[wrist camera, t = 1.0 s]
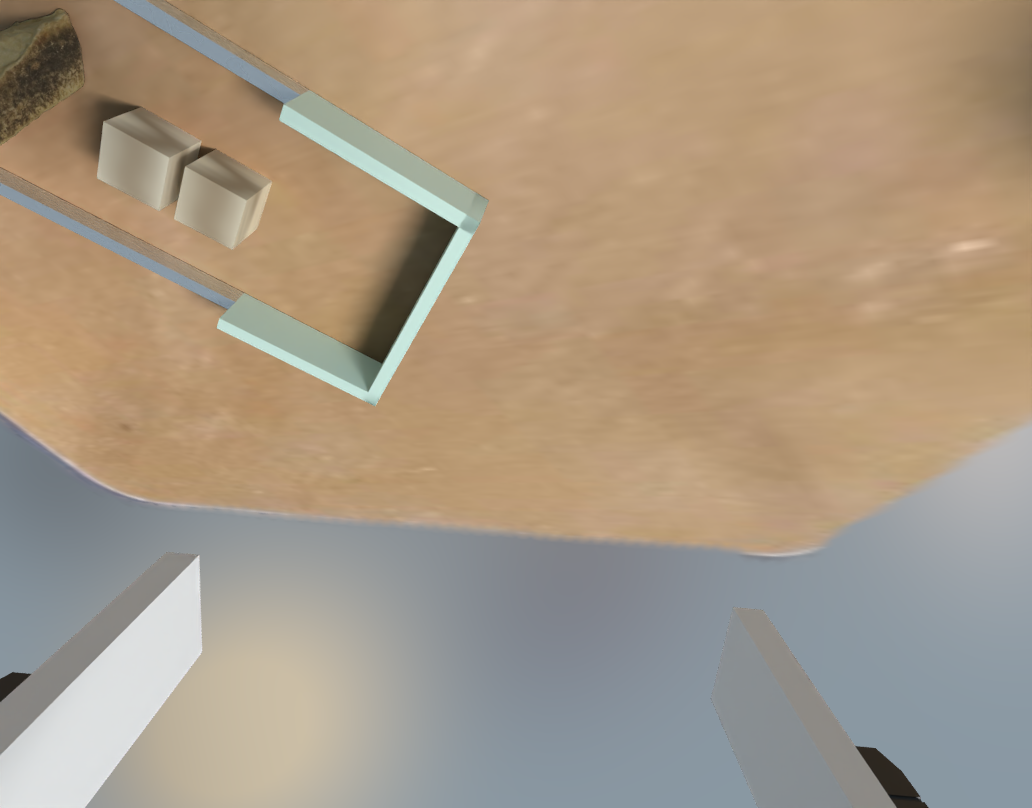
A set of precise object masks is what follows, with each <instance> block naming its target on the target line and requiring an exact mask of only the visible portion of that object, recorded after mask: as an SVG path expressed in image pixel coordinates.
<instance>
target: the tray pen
mask: <svg viewBox="0 0 1032 808" xmlns="http://www.w3.org/2000/svg"><path fill="white" fill-rule="evenodd" d="M279 120H280V121H281V122H283V123H285V124H286V125H288V126H290V127H291V128H293V129H295V130H296V131H298V132H300V133H301V134H303V135H305V136H307V137H308V138H310V139H312V140H313V141H315V142H317V143H318V144H320V145H322V146H323V147H325V148H327V149H328V150H330V151H332V152H333V153H335V154H337V155H338V156H340V157H342V158H343V159H345V160H347V161H348V162H350V163H352V164H354V165H355V166H357V167H359V168H360V169H362V170H364V171H365V172H367V173H369V174H370V175H372V176H374V177H375V178H377V179H379V180H380V181H382V182H384V183H385V184H387V185H389V186H390V187H392V188H394V189H395V190H397V191H399V192H400V193H402V194H404V195H406V196H407V197H409V198H411V199H412V200H414V201H416V202H417V203H419V204H421V205H422V206H424V207H426V208H427V209H429V210H431V211H432V212H434V213H436V214H437V215H439V216H441V217H442V218H444V219H446V220H447V221H449V222H451V223H452V224H454V225H456V226H458V227H457V228H456V230H455V232H454V234H453V236H452V238H451V239H450V241H449V243H448V245H447V247H446V248H445V250H444V252H443V254H442V256H441V258H440V259H439V261H438V263H437V265H436V267H435V268H434V270H433V272H432V274H431V276H430V278H429V279H428V281H427V283H426V285H425V287H424V289H423V290H422V292H421V294H420V296H419V298H418V299H417V301H416V303H415V305H414V307H413V309H412V310H411V312H410V314H409V316H408V318H407V320H406V321H405V323H404V325H403V327H402V329H401V330H400V332H399V334H398V336H397V338H396V340H395V341H394V343H393V345H392V347H391V349H390V350H389V352H388V354H387V356H386V358H385V360H384V361H383V363H380V362H378V361H376V360H374V359H372V358H370V357H368V356H366V355H364V354H362V353H360V352H358V351H356V350H354V349H352V348H350V347H348V346H347V345H345V344H343V343H341V342H339V341H337V340H335V339H333V338H331V337H329V336H327V335H325V334H323V333H321V332H319V331H317V330H315V329H313V328H311V327H310V326H308V325H306V324H304V323H302V322H300V321H298V320H296V319H294V318H292V317H290V316H288V315H286V314H284V313H282V312H280V311H278V310H276V309H275V308H273V307H271V306H269V305H267V304H265V303H263V302H261V301H259V300H257V299H255V298H253V297H251V296H249V295H247V294H245V293H244V294H243V295H242V296H241V297H240V298H239V299H238V300H237V301H236V302H235V303H234V304H233V305H232V306H231V307H230V308H229V309H228V310H227V311H226V312H225V313H224V314H223V315H222V316H221V317H220V319H219V322H218V325H217V328H218V329H220V330H222V331H224V332H226V333H228V334H230V335H232V336H234V337H236V338H238V339H240V340H242V341H244V342H246V343H248V344H250V345H252V346H254V347H256V348H258V349H260V350H262V351H264V352H266V353H268V354H270V355H272V356H274V357H276V358H278V359H281V360H283V361H285V362H287V363H289V364H291V365H293V366H295V367H297V368H299V369H301V370H303V371H305V372H307V373H309V374H311V375H313V376H315V377H317V378H319V379H321V380H323V381H325V382H327V383H329V384H331V385H333V386H335V387H337V388H339V389H341V390H343V391H345V392H347V393H349V394H351V395H354V396H356V397H358V398H360V399H362V400H364V401H366V402H368V403H370V404H372V405H374V406H375V405H376V404H377V402H378V400H379V398H380V397H381V395H382V393H383V391H384V390H385V388H386V386H387V384H388V383H389V381H390V379H391V377H392V376H393V374H394V372H395V370H396V369H397V367H398V365H399V364H400V362H401V360H402V358H403V357H404V355H405V353H406V351H407V350H408V348H409V346H410V344H411V343H412V341H413V339H414V337H415V336H416V334H417V332H418V330H419V329H420V327H421V325H422V323H423V322H424V320H425V318H426V316H427V315H428V313H429V311H430V309H431V308H432V306H433V304H434V302H435V301H436V299H437V297H438V295H439V294H440V292H441V290H442V288H443V287H444V285H445V283H446V281H447V280H448V278H449V276H450V275H451V273H452V271H453V269H454V268H455V266H456V264H457V262H458V261H459V259H460V257H461V255H462V254H463V252H464V250H465V248H466V247H467V245H468V243H469V241H470V240H471V238H472V236H473V234H474V233H475V231H476V229H477V227H478V226H479V224H480V222H481V219H482V217H483V214H484V212H485V209H486V207H487V204H488V202H489V200H487V199H485V198H484V197H482V196H480V195H479V194H477V193H476V192H474V191H472V190H471V189H469V188H467V187H466V186H464V185H463V184H461V183H459V182H458V181H456V180H455V179H453V178H451V177H450V176H448V175H446V174H445V173H443V172H442V171H440V170H438V169H437V168H435V167H433V166H432V165H430V164H429V163H427V162H425V161H424V160H422V159H420V158H419V157H417V156H416V155H414V154H412V153H411V152H409V151H408V150H406V149H404V148H403V147H401V146H399V145H398V144H396V143H395V142H393V141H391V140H390V139H388V138H386V137H385V136H383V135H382V134H380V133H378V132H377V131H375V130H373V129H372V128H370V127H369V126H367V125H365V124H364V123H362V122H361V121H359V120H357V119H356V118H354V117H352V116H351V115H349V114H348V113H346V112H344V111H343V110H341V109H339V108H338V107H336V106H335V105H333V104H331V103H330V102H328V101H326V100H325V99H323V98H322V97H320V96H318V95H317V94H315V93H314V92H312V91H310V90H309V91H307V92H305V93H303V94H302V95H300V96H298V97H296V98H294V99H292V100H291V101H289V102H287V103H285V104H284V105H283V109H282V112H281V115H280V119H279Z"/></svg>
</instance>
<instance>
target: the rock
mask: <svg viewBox="0 0 1032 808" xmlns="http://www.w3.org/2000/svg"><path fill="white" fill-rule="evenodd" d="M84 82H85V80H84V69H83V61H82V54H81V48H80V44H79V41H78V38H77V35H76V33H75V31H74V28H73V27H72V25H71V22H70V19H69V15H68V13H67V12H65V11H64V10H62V9H57V10H56V11H55V12H54V13H53V14H52V15H50V16H44V17H40V18H37V19H30V20H26V21H23V22H21V23H19V22H15V23H14V24H13V25H12V26H11V27H9V28H8V29H5V30H3V31H0V146H1V145H2V144H4V143H5V142H7V141H8V140H9V139H10V138H12V137H14V136H15V135H16V134H17V133H18V132H19V131H20V130H22V129H23V128H24V127H25V126H27V125H29V123H30V122H32V121H33V120H35V119H37V118H39V116H40V115H41V114H42V113H43V112H45V111H47V110H49V109H51V108H52V107H54V106H55V105H56V104H58V103H59V102H60V101H61V100H64V99H66V98H67V97H69V96H70V95H71V94H73V93H74V92H75V91H77V90H78V89H80V88H81V87H83V85H84Z"/></svg>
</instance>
